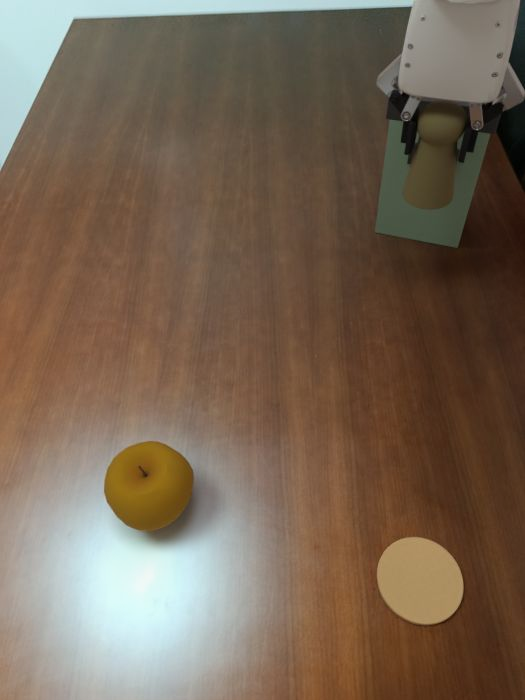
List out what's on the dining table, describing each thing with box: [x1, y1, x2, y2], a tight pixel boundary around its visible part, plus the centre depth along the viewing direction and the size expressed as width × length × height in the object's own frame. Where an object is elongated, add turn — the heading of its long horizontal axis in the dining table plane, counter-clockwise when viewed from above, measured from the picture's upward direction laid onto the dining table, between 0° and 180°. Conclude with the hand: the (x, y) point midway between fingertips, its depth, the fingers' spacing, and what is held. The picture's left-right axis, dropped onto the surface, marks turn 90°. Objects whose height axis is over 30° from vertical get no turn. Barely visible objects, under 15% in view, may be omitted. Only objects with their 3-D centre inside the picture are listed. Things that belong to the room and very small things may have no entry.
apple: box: [103, 440, 195, 532], centre depth 58 cm, size 9×8×9 cm
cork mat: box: [376, 536, 465, 627], centre depth 55 cm, size 8×8×1 cm
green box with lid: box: [374, 75, 506, 249], centre depth 77 cm, size 13×6×21 cm, turn 70°
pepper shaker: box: [402, 101, 467, 210], centre depth 66 cm, size 6×6×11 cm
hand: (435, 150), depth 65 cm, fingers closed on pepper shaker, 5 cm apart
